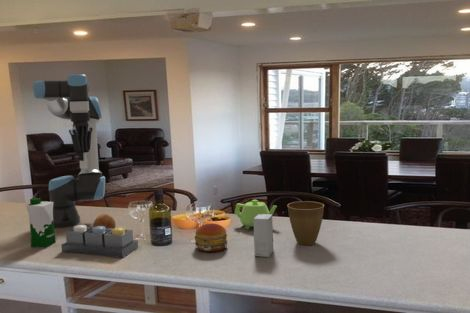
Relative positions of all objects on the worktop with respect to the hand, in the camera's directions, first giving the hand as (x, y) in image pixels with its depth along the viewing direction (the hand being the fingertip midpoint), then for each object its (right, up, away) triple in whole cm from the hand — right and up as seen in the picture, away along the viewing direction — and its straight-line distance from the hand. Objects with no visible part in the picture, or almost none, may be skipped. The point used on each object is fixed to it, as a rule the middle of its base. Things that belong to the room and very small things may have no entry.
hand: (83, 167), depth 186 cm
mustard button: (+17, -29, -10) cm, 35 cm away
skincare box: (+75, -33, -15) cm, 84 cm away
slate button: (+9, -29, -7) cm, 31 cm away
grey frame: (+9, -33, -6) cm, 35 cm away
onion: (+5, -31, +12) cm, 34 cm away
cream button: (0, -29, -4) cm, 29 cm away
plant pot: (+93, -31, -4) cm, 98 cm away
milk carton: (-18, -33, +2) cm, 38 cm away
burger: (+55, -33, -8) cm, 64 cm away
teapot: (+74, -28, +20) cm, 82 cm away
